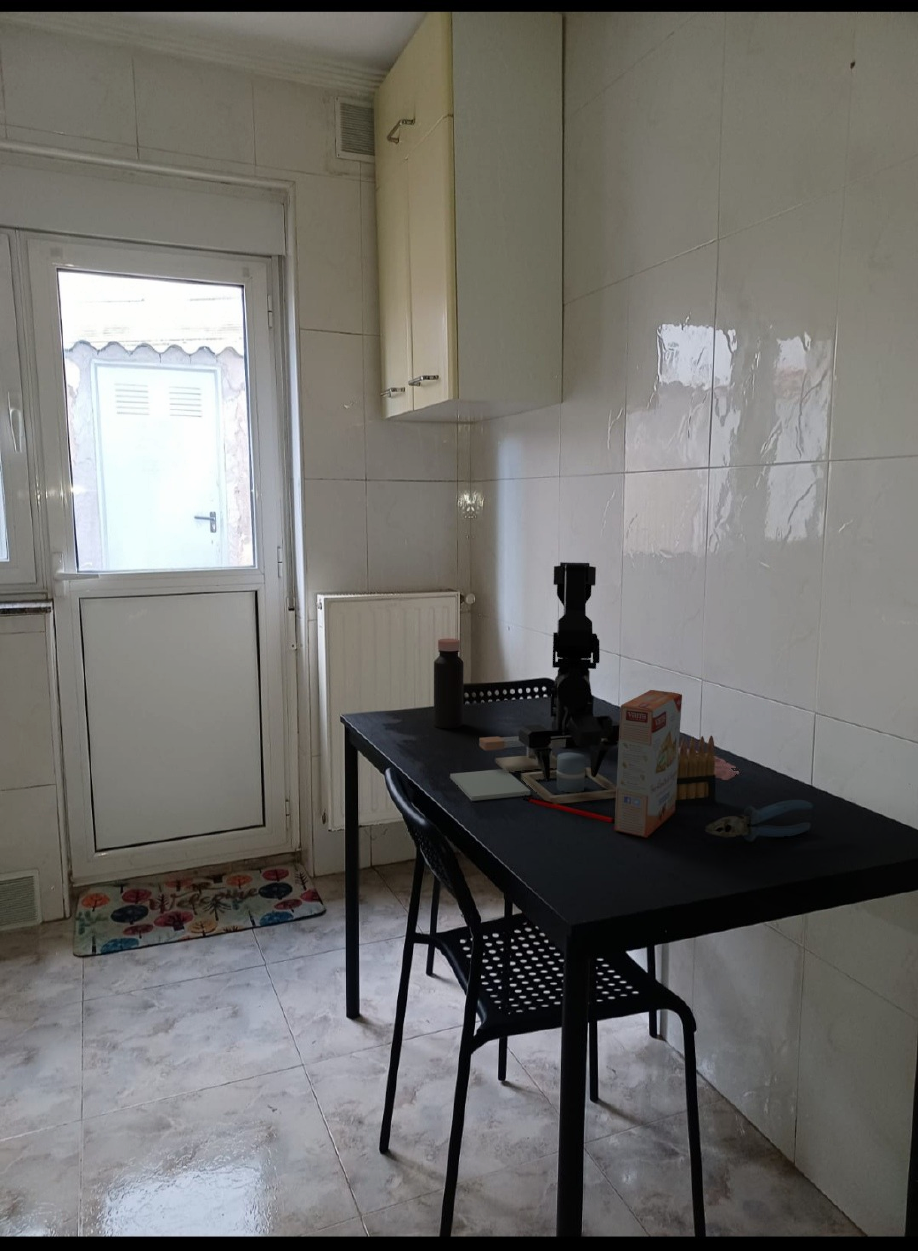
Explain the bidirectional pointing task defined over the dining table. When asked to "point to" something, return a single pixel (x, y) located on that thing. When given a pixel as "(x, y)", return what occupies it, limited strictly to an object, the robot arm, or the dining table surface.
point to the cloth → (719, 767)
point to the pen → (568, 809)
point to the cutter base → (524, 761)
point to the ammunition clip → (696, 774)
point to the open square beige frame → (575, 797)
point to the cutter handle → (510, 742)
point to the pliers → (751, 817)
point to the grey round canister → (570, 772)
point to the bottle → (448, 685)
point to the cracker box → (647, 762)
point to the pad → (489, 784)
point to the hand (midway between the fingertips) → (570, 779)
